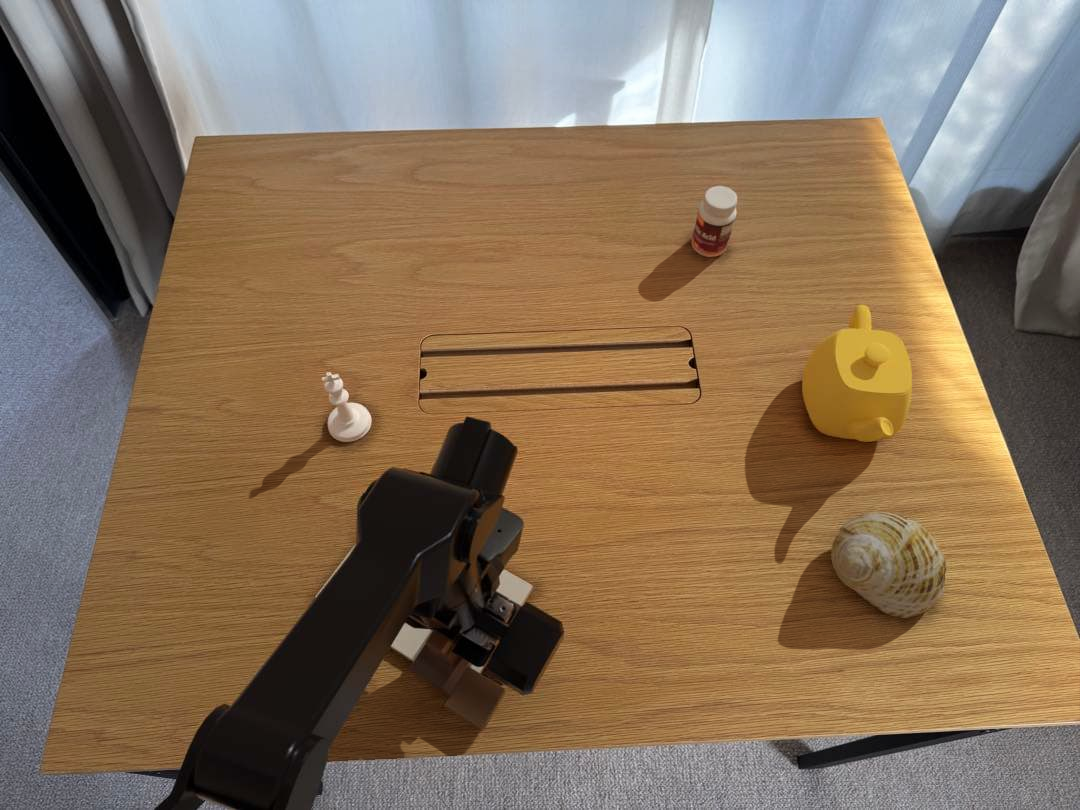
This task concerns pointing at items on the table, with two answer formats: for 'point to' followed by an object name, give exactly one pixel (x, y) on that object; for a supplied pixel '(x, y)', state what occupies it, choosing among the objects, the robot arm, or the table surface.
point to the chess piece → (345, 412)
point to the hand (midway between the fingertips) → (460, 631)
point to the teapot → (858, 382)
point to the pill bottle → (715, 221)
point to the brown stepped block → (441, 664)
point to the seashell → (890, 563)
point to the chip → (475, 699)
